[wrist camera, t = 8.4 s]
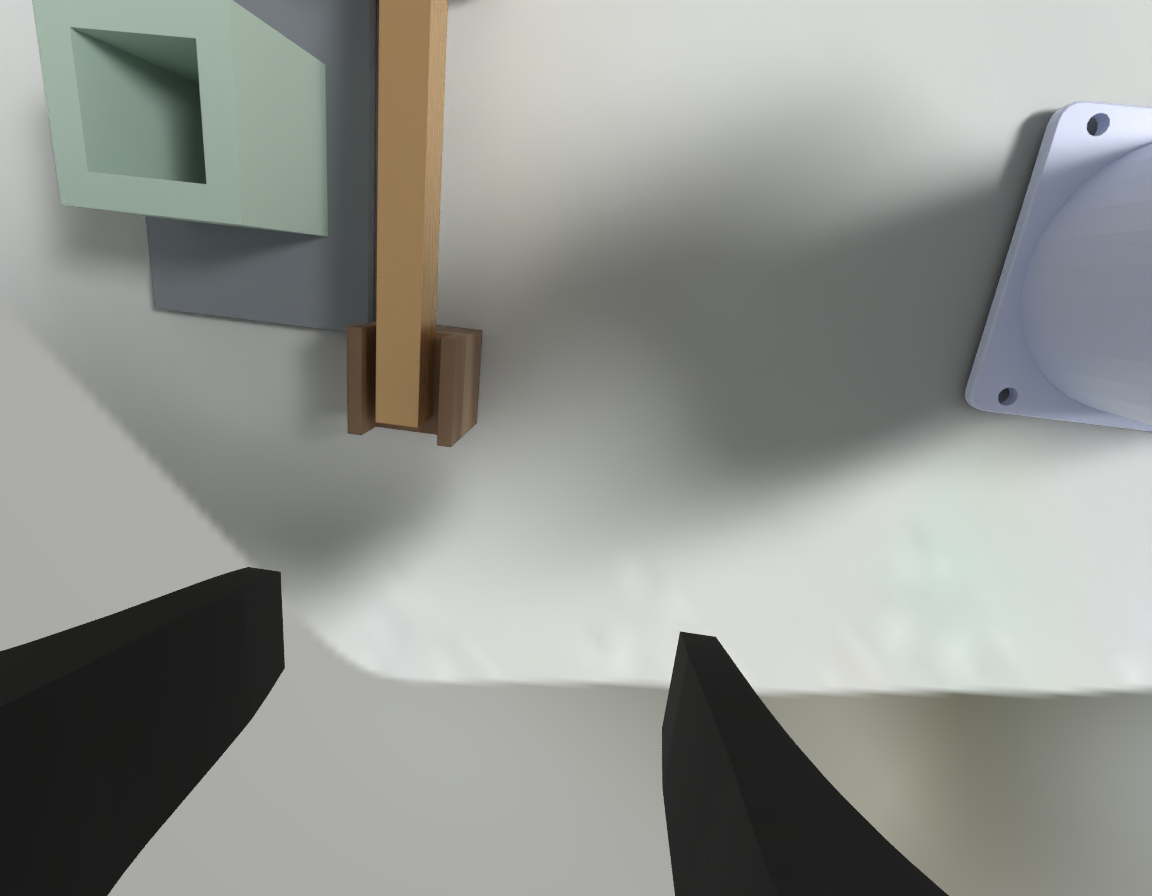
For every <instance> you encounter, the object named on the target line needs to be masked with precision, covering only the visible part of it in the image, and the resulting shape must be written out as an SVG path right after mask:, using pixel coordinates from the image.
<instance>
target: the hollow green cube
mask: <svg viewBox="0 0 1152 896" xmlns="http://www.w3.org/2000/svg"><path fill="white" fill-rule="evenodd" d="M32 3H33V10H34V17H35V24H36V32H37V39H38V46H39V53H40V60H41V67H42V74H43V81H44V88H45V96H46V103H47V110H48V117H49V124H50V131H51V138H52V145H53V152H54V160H55V167H56V174H57V181H58V188H59V195H60V202H61V205H66V206H73V207H81V208H89V209H97V210H105V211H113V212H121V213H128V214H136V215H144V216H152V217H160V218H168V219H176V220H183V221H192V222H201V223H210V224H219V225H228V226H237V227H246V228H255V229H264V230H274V231H283V232H292V233H301V234H310V235H319V236H328V201H327V140H326V80H325V64H324V63H322V62H321V61H320V60H318V59H317V58H315V57H314V56H312V55H311V54H309V53H308V52H307V51H305V50H304V49H302V48H301V47H299V46H298V45H296V44H295V43H294V42H292V41H291V40H289V39H288V38H286V37H285V36H283V35H282V34H281V33H279V32H278V31H276V30H275V29H273V28H272V27H270V26H269V25H268V24H266V23H265V22H263V21H262V20H260V19H259V18H258V17H256V16H255V15H253V14H252V13H250V12H249V11H247V10H246V9H245V8H243V7H242V6H240V5H239V4H237V3H236V2H234V1H233V0H32Z"/></svg>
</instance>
